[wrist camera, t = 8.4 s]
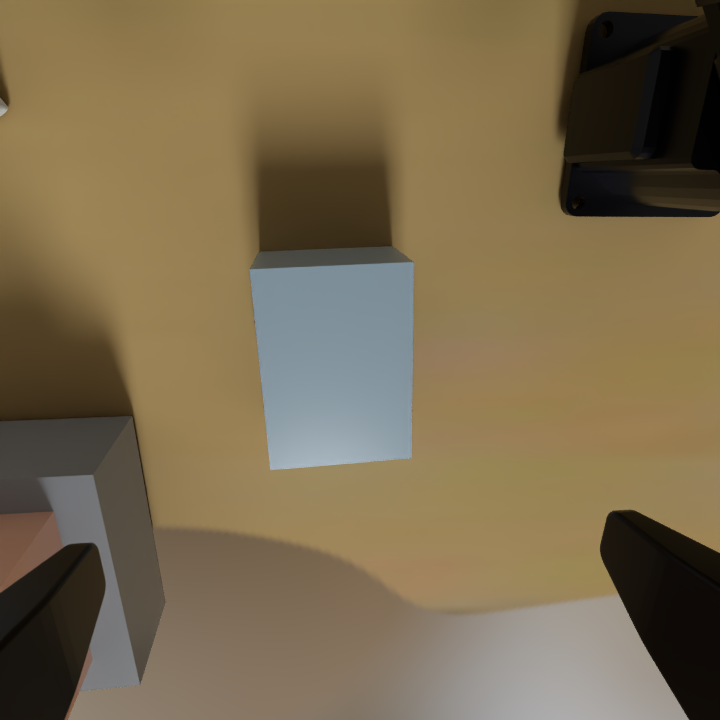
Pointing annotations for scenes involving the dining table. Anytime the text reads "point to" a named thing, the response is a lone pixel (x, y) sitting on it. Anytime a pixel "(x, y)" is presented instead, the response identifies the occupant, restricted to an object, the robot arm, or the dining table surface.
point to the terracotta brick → (30, 555)
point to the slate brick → (335, 354)
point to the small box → (2, 107)
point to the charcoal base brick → (93, 525)
